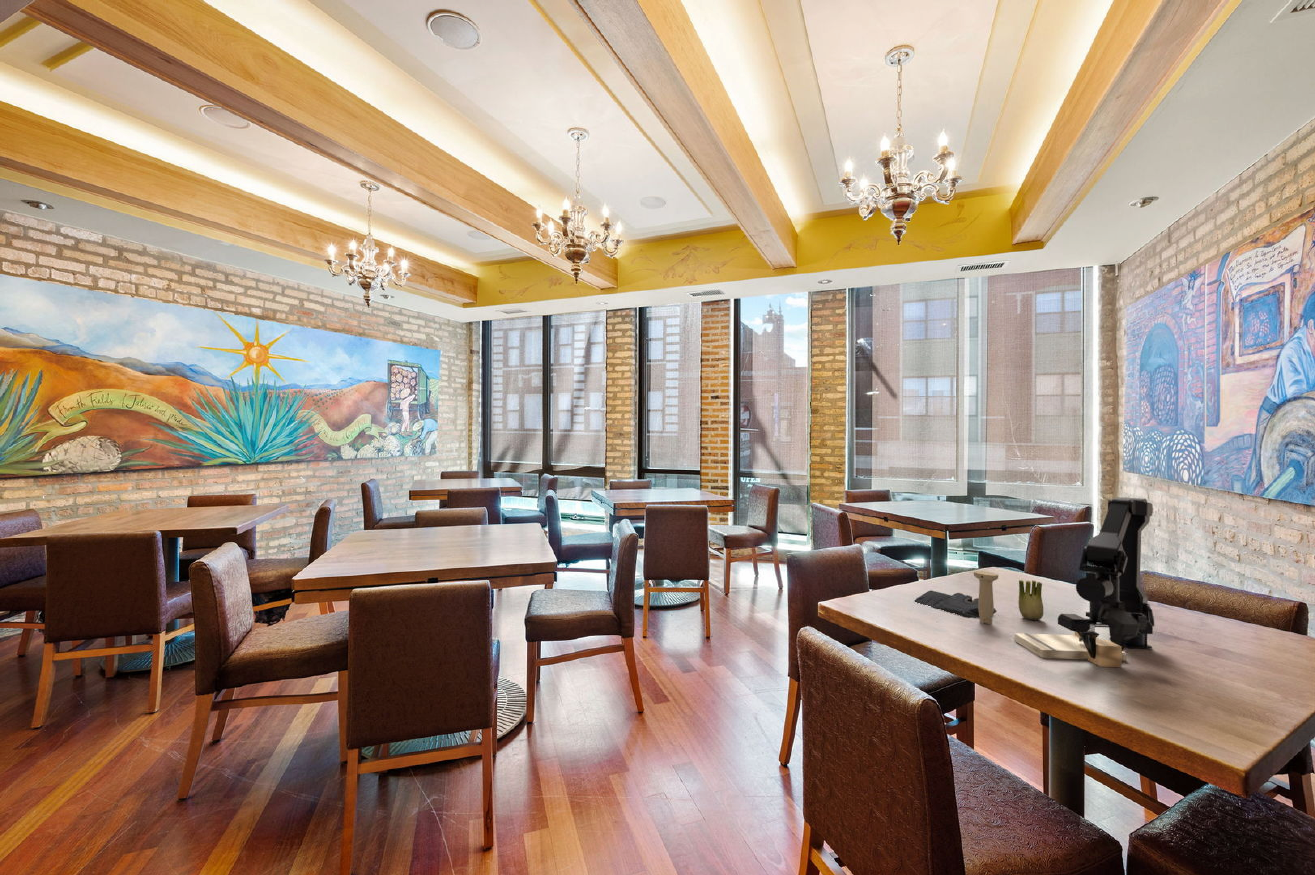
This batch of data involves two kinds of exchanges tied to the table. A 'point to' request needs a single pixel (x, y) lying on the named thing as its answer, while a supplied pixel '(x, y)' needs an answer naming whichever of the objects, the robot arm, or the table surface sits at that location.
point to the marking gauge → (1106, 653)
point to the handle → (985, 595)
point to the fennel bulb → (1030, 600)
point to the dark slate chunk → (951, 603)
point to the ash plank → (1055, 646)
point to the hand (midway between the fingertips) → (1104, 658)
